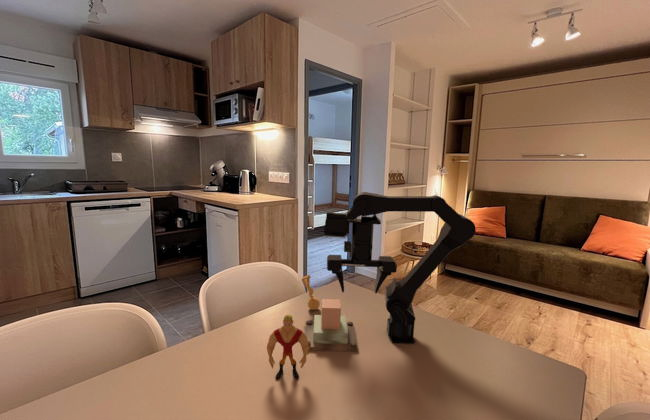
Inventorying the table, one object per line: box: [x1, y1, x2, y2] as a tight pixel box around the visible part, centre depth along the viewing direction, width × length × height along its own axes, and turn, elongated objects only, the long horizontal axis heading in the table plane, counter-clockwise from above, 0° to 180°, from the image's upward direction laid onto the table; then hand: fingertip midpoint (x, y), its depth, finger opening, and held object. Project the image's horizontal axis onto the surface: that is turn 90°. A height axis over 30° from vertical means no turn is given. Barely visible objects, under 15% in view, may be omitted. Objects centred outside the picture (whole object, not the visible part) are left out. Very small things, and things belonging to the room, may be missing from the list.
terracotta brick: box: [321, 298, 342, 329], centre depth 81 cm, size 5×5×6 cm
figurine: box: [301, 274, 321, 311], centre depth 96 cm, size 8×6×12 cm
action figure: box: [266, 314, 310, 380], centre depth 66 cm, size 10×4×15 cm, turn 92°
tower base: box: [304, 314, 358, 352], centre depth 82 cm, size 14×12×4 cm
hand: (359, 292), depth 83 cm, fingers open, 9 cm apart
